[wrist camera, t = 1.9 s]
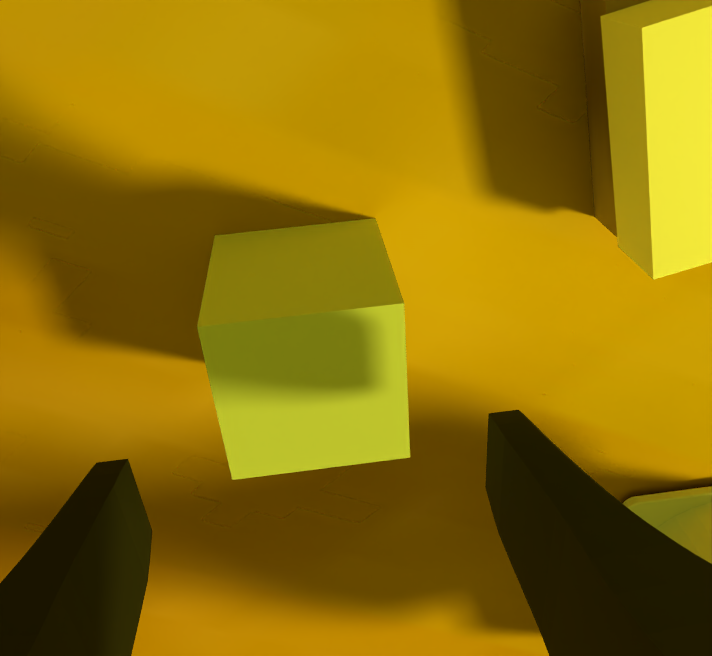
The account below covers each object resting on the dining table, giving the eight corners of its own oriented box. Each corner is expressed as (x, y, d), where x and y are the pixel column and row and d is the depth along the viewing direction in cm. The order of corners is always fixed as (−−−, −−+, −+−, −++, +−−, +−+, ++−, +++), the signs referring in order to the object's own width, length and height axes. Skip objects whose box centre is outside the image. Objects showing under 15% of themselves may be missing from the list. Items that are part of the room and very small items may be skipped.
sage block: (383, 350, 21) (410, 457, 17) (241, 366, 21) (232, 480, 17) (375, 217, 19) (404, 303, 15) (214, 234, 19) (197, 326, 14)
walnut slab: (787, 154, 20) (836, 176, 18) (587, 210, 20) (617, 237, 18) (809, -77, 16) (871, -78, 15) (571, -8, 17) (605, 1, 15)
